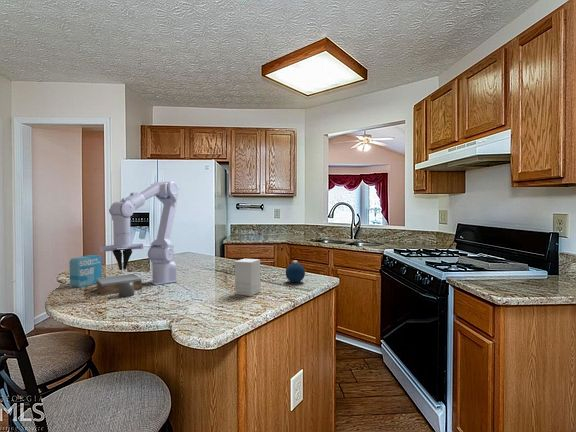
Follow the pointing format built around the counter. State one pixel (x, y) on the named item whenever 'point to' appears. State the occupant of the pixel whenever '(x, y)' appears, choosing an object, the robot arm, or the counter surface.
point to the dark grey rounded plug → (126, 288)
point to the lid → (118, 279)
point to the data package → (85, 270)
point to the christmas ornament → (295, 272)
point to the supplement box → (247, 277)
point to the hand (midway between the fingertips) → (122, 269)
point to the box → (115, 288)
